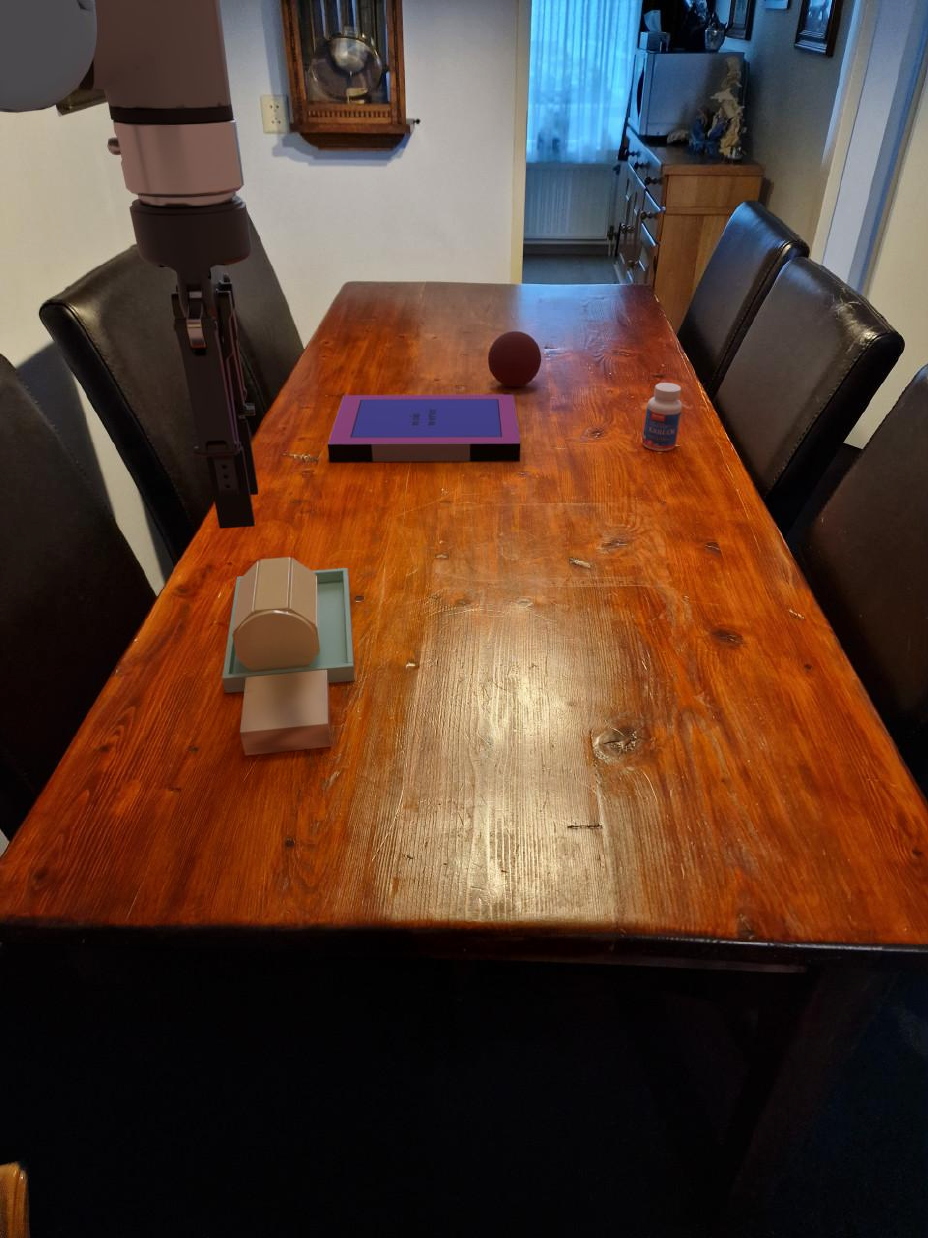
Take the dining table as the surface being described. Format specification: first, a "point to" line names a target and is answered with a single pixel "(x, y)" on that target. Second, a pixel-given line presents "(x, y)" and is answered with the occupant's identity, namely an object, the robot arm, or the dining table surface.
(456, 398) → the book
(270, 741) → the block
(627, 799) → the dining table surface
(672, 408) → the pill bottle
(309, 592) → the cup
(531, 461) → the dining table surface
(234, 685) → the tray
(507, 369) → the decorative ball
